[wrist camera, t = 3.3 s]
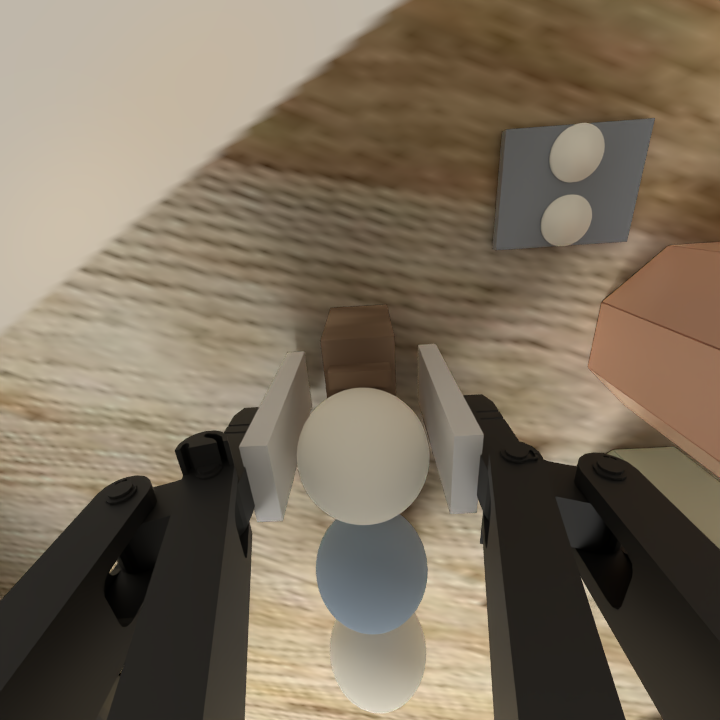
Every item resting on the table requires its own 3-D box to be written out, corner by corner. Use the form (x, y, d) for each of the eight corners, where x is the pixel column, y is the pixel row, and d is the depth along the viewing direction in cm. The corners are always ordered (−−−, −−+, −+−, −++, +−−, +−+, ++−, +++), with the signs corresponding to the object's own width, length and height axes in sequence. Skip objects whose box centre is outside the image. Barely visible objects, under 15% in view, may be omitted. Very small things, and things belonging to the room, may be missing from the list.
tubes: (467, 555, 21) (533, 777, 13) (502, 131, 12) (772, -13, 4) (675, 547, 21) (880, 771, 13) (860, 104, 12) (1922, -113, 4)
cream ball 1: (313, 464, 13) (295, 560, 10) (300, 369, 12) (272, 442, 8) (418, 459, 13) (440, 555, 10) (419, 363, 12) (444, 434, 8)
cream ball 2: (337, 624, 17) (330, 736, 14) (329, 570, 16) (319, 679, 12) (418, 622, 17) (433, 733, 14) (418, 566, 16) (435, 676, 12)
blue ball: (327, 554, 15) (316, 662, 12) (316, 484, 14) (300, 584, 10) (418, 551, 15) (436, 659, 12) (418, 479, 14) (439, 579, 10)
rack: (356, 563, 22) (354, 650, 17) (330, 307, 15) (318, 347, 11) (395, 561, 21) (403, 648, 17) (386, 304, 15) (395, 343, 11)
